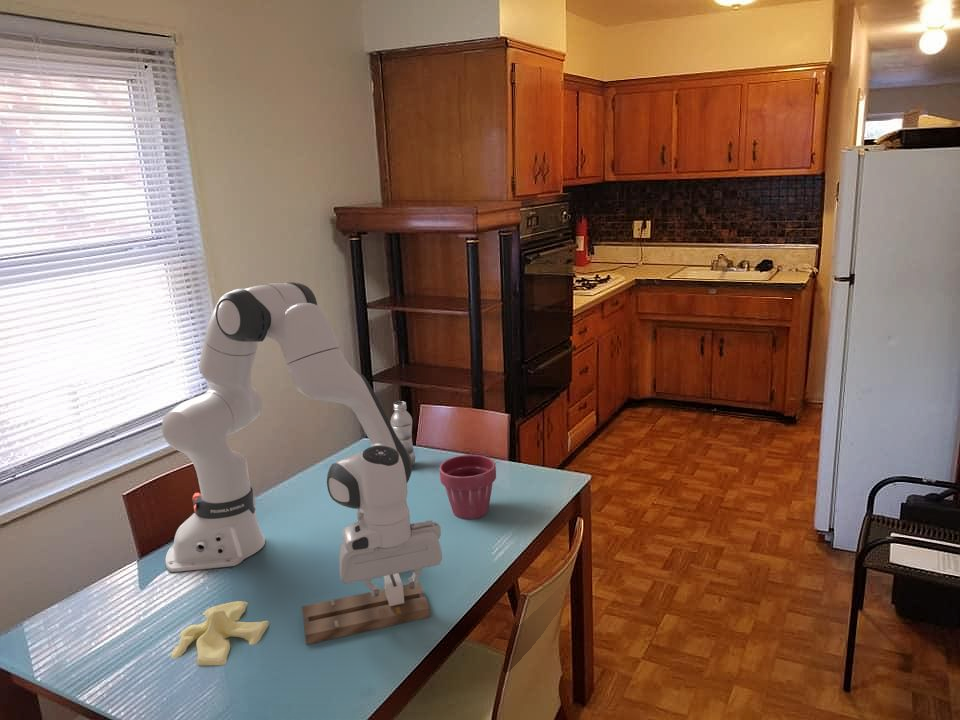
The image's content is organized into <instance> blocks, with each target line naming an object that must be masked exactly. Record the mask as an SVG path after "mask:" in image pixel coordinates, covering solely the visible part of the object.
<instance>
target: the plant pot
mask: <svg viewBox="0 0 960 720" xmlns="http://www.w3.org/2000/svg"><path fill="white" fill-rule="evenodd" d="M439 477H440V478H439V479H440V483H441V484H442V485H443V486H444V488H445V492H446V495H447V497H448V498H447V499H448V502H449V505H450V507H451V510H452V513H453V515H454V516H455V517H457V518H459V519H464V520H473V519H478V518H481V517H483V516H485V515H486V514H487V513H488V511H489V507H490V506H489V505H490V502H491V501H490V500H491V495H492V490H493V483H494V482H495V481H496V479H497V465H496V462H495V461H494V460H493V459H492V458H491V457H488V456H484V455H479V454H464V455H463V454H462V455H457V456H454V457H451V458H448V459H446V460H444V461H443V462H442V463H441V464H440V466H439Z"/></svg>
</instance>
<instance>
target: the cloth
mask: <svg viewBox="0 0 960 720" xmlns="http://www.w3.org/2000/svg"><path fill="white" fill-rule="evenodd" d="M248 605H249V602H247V601H241V600H236V601H231V602H226V603H221V604H218V605H215V606H212V607H211V606H210V607H209V608H208V609H206V610H205V611H204V612H203V613H202V616H203V615H206V616H207V617H206V620H205V621H203V622H201V623H199V624H190V625H188V626H187V627H186V628H184V629H183V630H182V631H180V632H181V633H180V632H179V633H180V635H181V636H180V637H179V642H178V644H177V645H178V646H177V645H176V646H175V647H174V648H175V649H174V648H173V650H174V651H173V650H172V652H171V654H172V656H171V655H170V656H171V657H172V658H176V659H178V658H180V657H182V656H183V655H184V654H185V653H184V652H186V651H187V649H188V647H189V646H190V645H191V644H192V643H193V642H194V641H195V640H196V644H195V645H196V650H197V660H196V663H195V664H196V665H197V666H223V665H225V664H226V663H227V662H228V661H227V659H228V655H229V653H230V649H231V643H230V639H227V638H233V637H234V638H241V639H244V640H246V641H247V642H248V644H249V645H250V646H254V645H256V644H257V643H259V642H260V640H261V639H262V637H263V635H264V633H265V632H266V631H267V629H268V627H269V625H270V621H268V620H263V621H262V620H261V621H253V622H251V621H250V622H249V621H247V622H246V621H239V620H240V618H241V617H242V615H243V614H244V613H245V612H246V608H247V606H248ZM183 653H184V654H183ZM182 654H183V655H182ZM179 656H180V657H179ZM172 658H171V659H172Z"/></svg>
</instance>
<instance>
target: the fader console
mask: <svg viewBox="0 0 960 720" xmlns="http://www.w3.org/2000/svg"><path fill="white" fill-rule="evenodd" d="M403 592H404V603H403V604H398V605H394V606H389V603H388V600H387V597H386V594H385V588H383V589H379V596H377V597H372V596H371V591H369V592H368V591H367V592H365V593H358V594H354V595H349V596H344V597H340V598H336V599H335V598H334V599H329V600H326V601H321V602H317V603H312V604H307V605H302V606H301V611H302V618H303V627H304V636H305V644H306V645H311V644H316V643H318V642H324V641H328V640H333V639H337V638H342V637H345V636H351V635H355V634H359V633H364V632H368V631H372V630H373V631H374V630H377V629H382V628H386V627H391V626H396V625H400V624H405V623H409V622H412V621H417V620H423V619H427V618H431V608H430V605H429V603H428V600H427V598H426V595H425V593H424V591H423V589H422V586H421V583H420V582H419V581H417V588H414V589H409V586H408V583H407V584H403Z"/></svg>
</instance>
